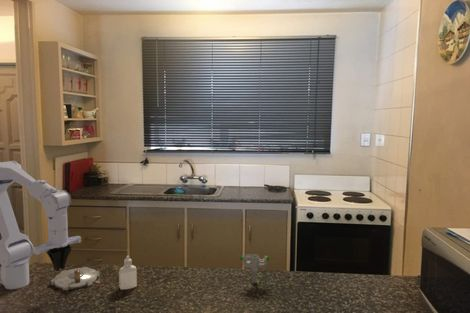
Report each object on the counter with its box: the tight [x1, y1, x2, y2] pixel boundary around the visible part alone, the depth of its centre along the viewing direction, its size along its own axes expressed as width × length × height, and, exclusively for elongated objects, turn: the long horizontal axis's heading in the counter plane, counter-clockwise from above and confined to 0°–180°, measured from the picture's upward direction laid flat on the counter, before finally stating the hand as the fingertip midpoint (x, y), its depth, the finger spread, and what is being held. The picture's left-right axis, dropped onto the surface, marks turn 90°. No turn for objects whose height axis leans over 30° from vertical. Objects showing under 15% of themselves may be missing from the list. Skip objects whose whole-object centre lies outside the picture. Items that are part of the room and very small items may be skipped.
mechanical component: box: [240, 253, 270, 284], centre depth 126 cm, size 3×10×10 cm, turn 89°
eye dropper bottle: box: [118, 255, 138, 290], centre depth 119 cm, size 4×6×12 cm
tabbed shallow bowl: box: [51, 266, 101, 291], centre depth 123 cm, size 14×16×6 cm
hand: (59, 269), depth 113 cm, fingers closed
